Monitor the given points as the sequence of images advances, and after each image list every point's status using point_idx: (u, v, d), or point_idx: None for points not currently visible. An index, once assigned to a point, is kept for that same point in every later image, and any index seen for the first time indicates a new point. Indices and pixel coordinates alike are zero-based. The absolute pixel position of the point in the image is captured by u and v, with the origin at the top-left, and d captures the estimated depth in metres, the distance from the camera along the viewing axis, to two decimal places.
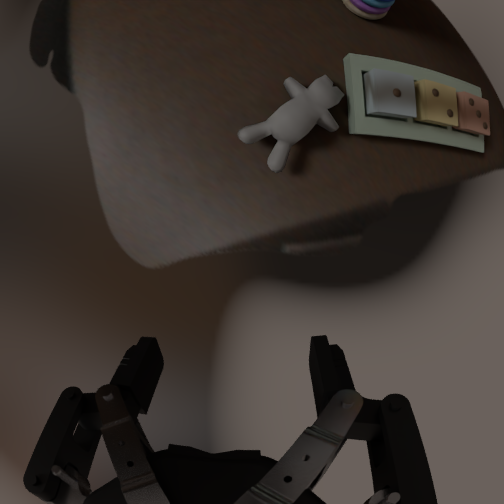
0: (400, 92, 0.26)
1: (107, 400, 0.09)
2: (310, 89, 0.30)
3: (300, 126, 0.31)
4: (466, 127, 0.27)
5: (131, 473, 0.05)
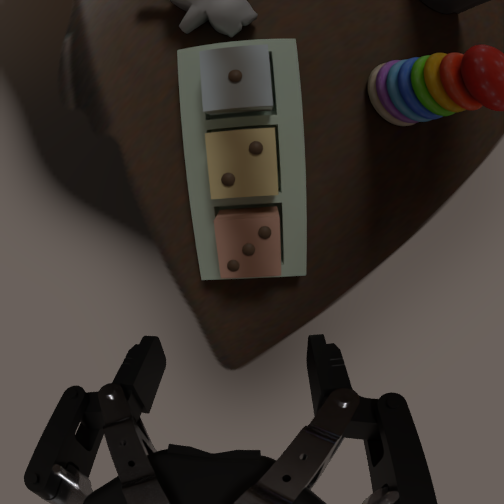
0: (236, 81, 0.20)
1: (110, 399, 0.09)
2: None
3: None
4: (216, 220, 0.25)
5: (132, 473, 0.05)
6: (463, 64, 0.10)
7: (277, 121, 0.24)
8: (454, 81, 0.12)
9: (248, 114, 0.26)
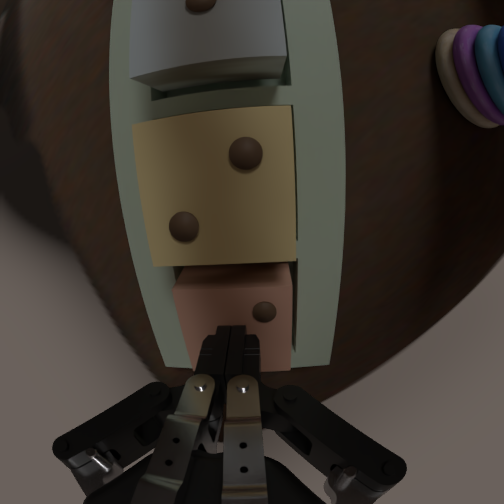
0: (202, 8, 0.07)
1: (203, 391, 0.09)
2: None
3: None
4: (176, 288, 0.14)
5: (161, 471, 0.06)
6: None
7: (292, 99, 0.11)
8: None
9: None
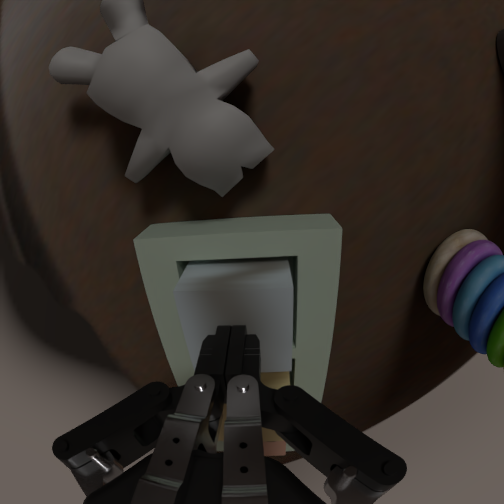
0: None
1: (203, 391, 0.09)
2: (218, 102, 0.11)
3: (110, 84, 0.10)
4: None
5: (162, 470, 0.06)
6: None
7: (295, 355, 0.18)
8: None
9: None
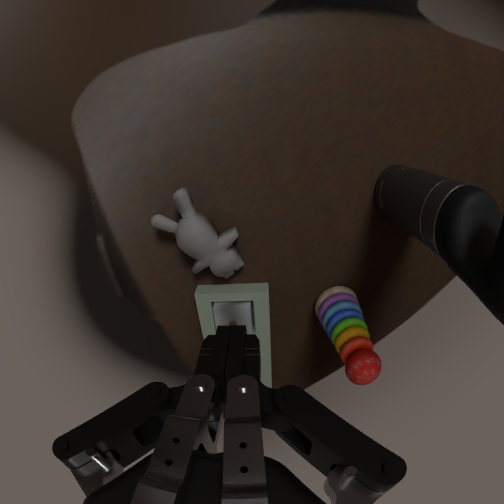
0: None
1: (203, 391, 0.09)
2: (225, 253, 0.40)
3: (187, 245, 0.38)
4: None
5: (162, 470, 0.06)
6: (346, 363, 0.33)
7: None
8: (343, 360, 0.35)
9: None
